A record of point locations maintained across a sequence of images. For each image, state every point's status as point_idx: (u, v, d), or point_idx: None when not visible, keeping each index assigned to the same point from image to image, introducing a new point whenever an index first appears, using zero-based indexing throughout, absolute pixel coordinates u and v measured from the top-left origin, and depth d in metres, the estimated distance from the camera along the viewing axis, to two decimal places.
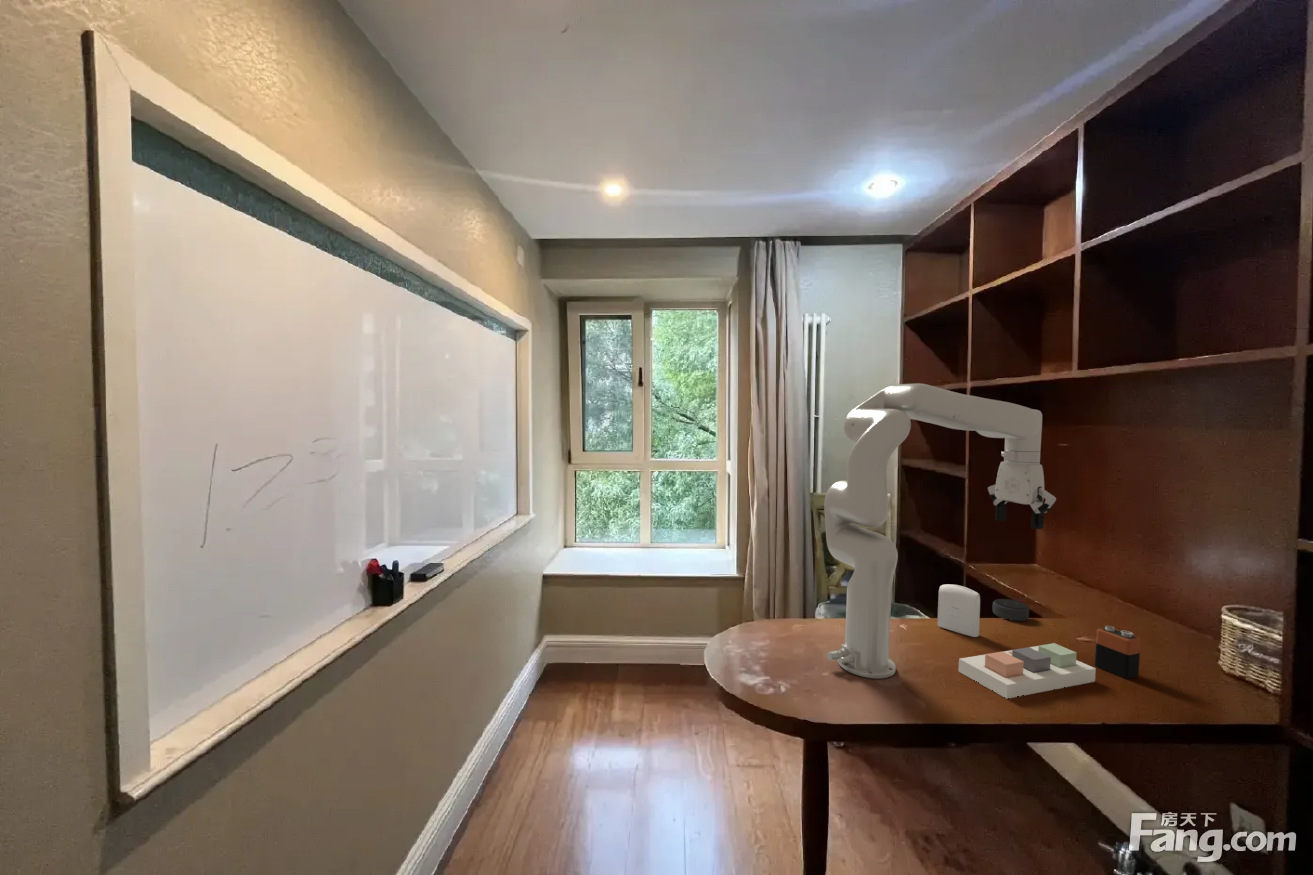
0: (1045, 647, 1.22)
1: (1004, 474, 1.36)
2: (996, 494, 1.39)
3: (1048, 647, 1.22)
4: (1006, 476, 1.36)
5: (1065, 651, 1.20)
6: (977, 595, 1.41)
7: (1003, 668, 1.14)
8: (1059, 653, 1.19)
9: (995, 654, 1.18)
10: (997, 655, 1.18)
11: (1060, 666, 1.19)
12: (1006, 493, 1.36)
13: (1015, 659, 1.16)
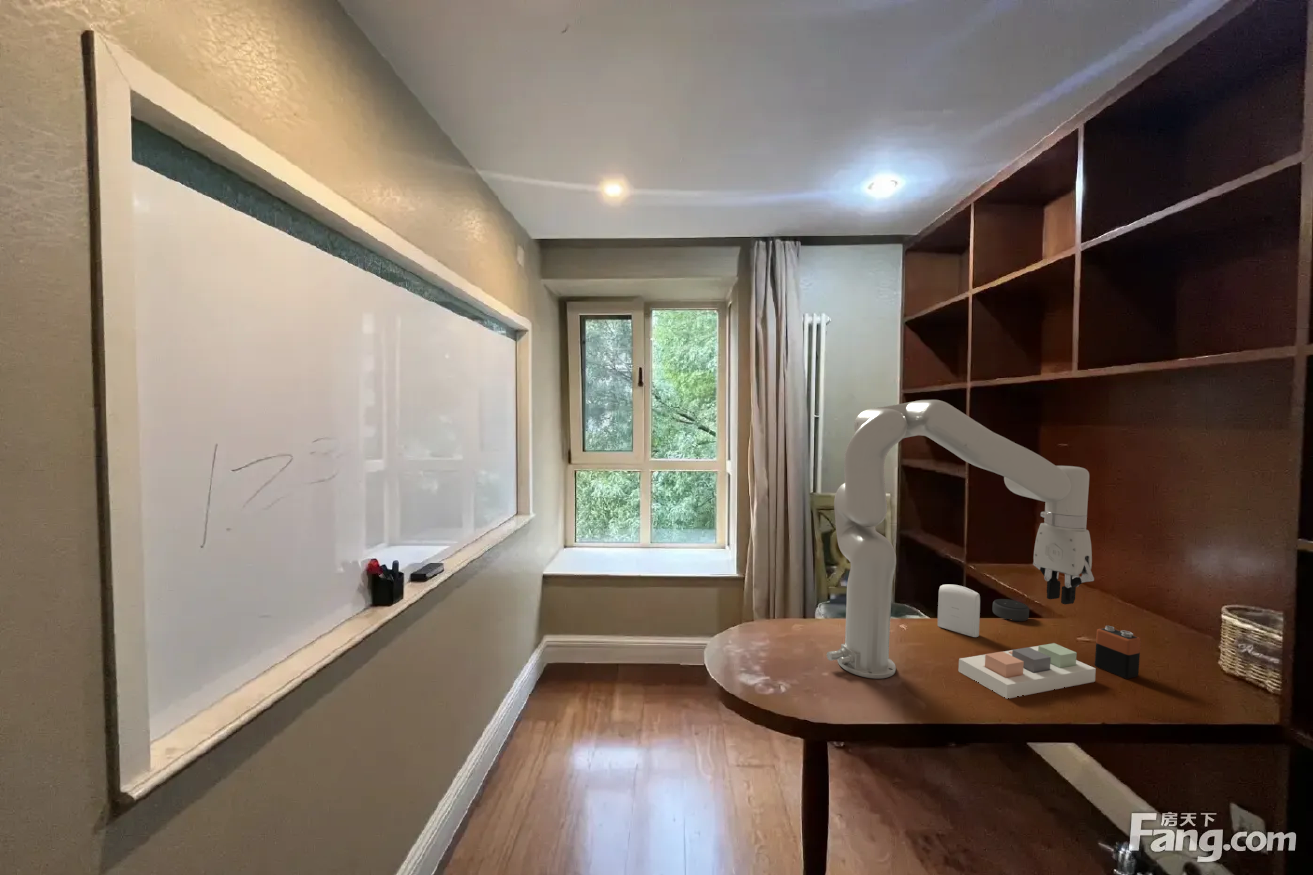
0: (1045, 647, 1.22)
1: (1045, 539, 1.21)
2: (1035, 560, 1.24)
3: (1048, 647, 1.22)
4: (1047, 541, 1.21)
5: (1065, 651, 1.20)
6: (977, 595, 1.41)
7: (1003, 668, 1.14)
8: (1059, 653, 1.19)
9: (995, 654, 1.18)
10: (997, 655, 1.18)
11: (1060, 666, 1.19)
12: (1047, 560, 1.21)
13: (1015, 659, 1.16)
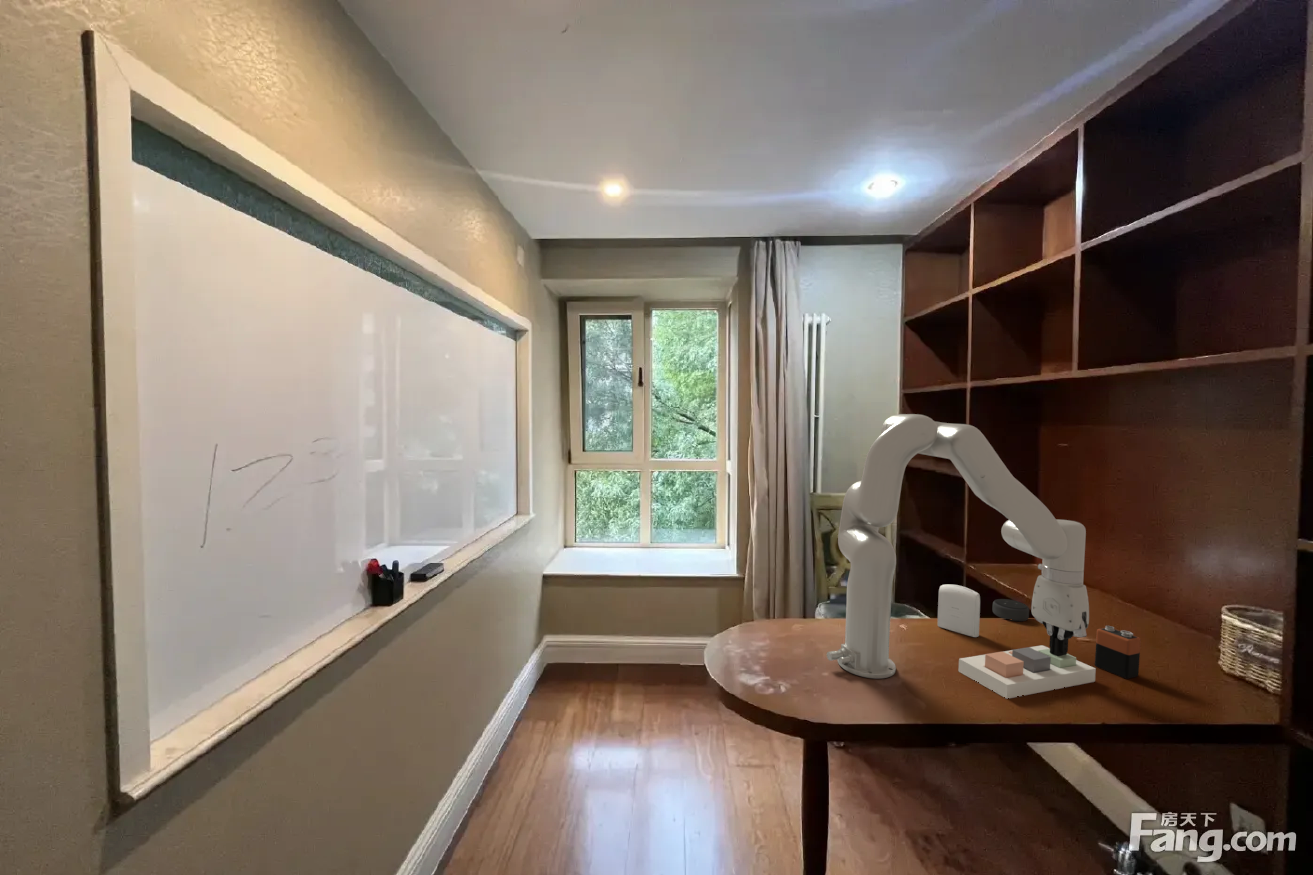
0: (1045, 652, 1.22)
1: (1042, 592, 1.22)
2: (1033, 612, 1.24)
3: (1047, 652, 1.22)
4: (1044, 595, 1.22)
5: (1065, 656, 1.20)
6: (977, 596, 1.41)
7: (1003, 668, 1.14)
8: (1058, 658, 1.19)
9: (995, 654, 1.18)
10: (997, 655, 1.18)
11: None
12: (1045, 614, 1.22)
13: (1015, 659, 1.16)
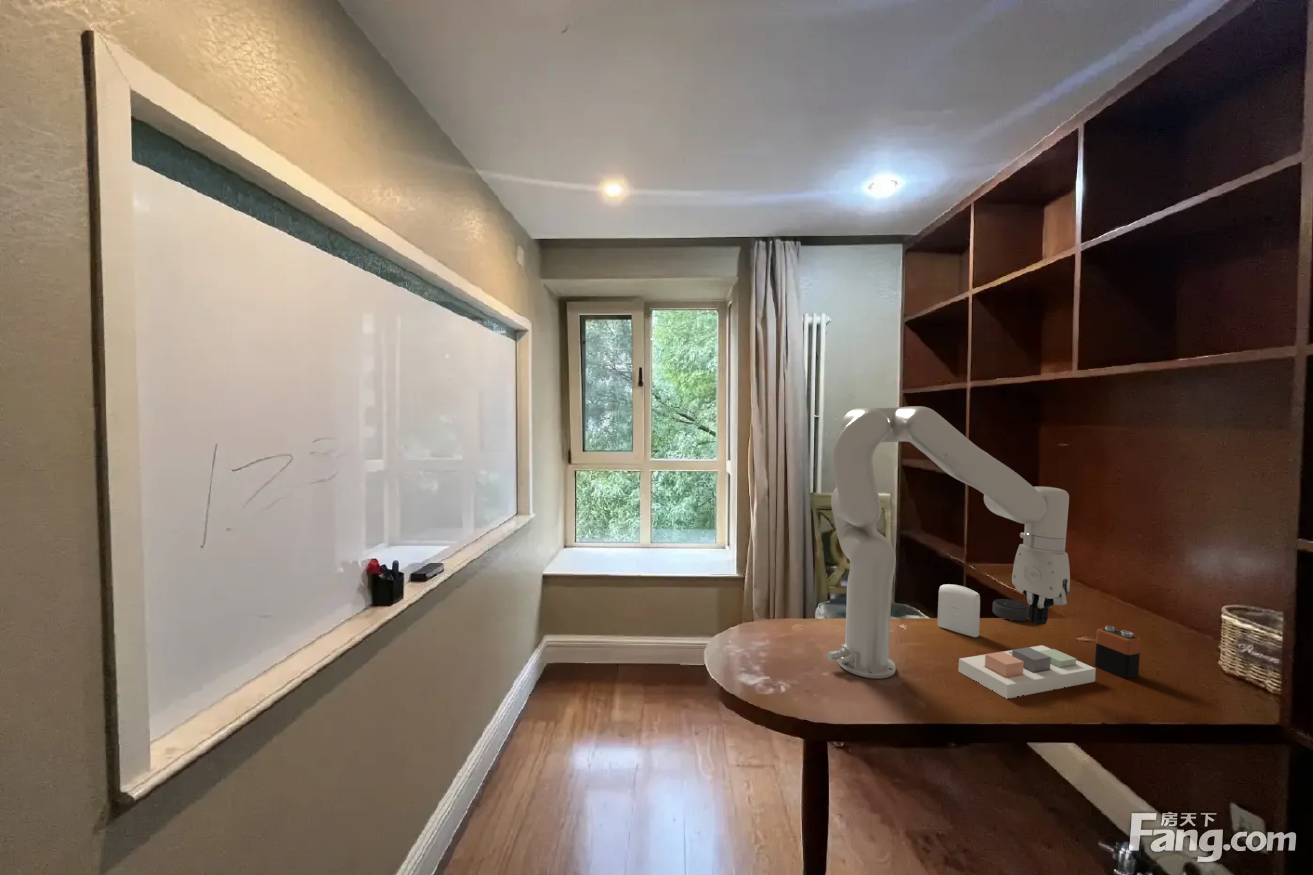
0: (1045, 653, 1.22)
1: (1024, 560, 1.20)
2: (1013, 581, 1.22)
3: (1047, 653, 1.22)
4: (1026, 563, 1.19)
5: (1065, 657, 1.20)
6: (977, 595, 1.41)
7: (1003, 668, 1.14)
8: (1058, 659, 1.19)
9: (995, 654, 1.18)
10: (997, 655, 1.18)
11: None
12: (1025, 582, 1.19)
13: (1015, 659, 1.16)
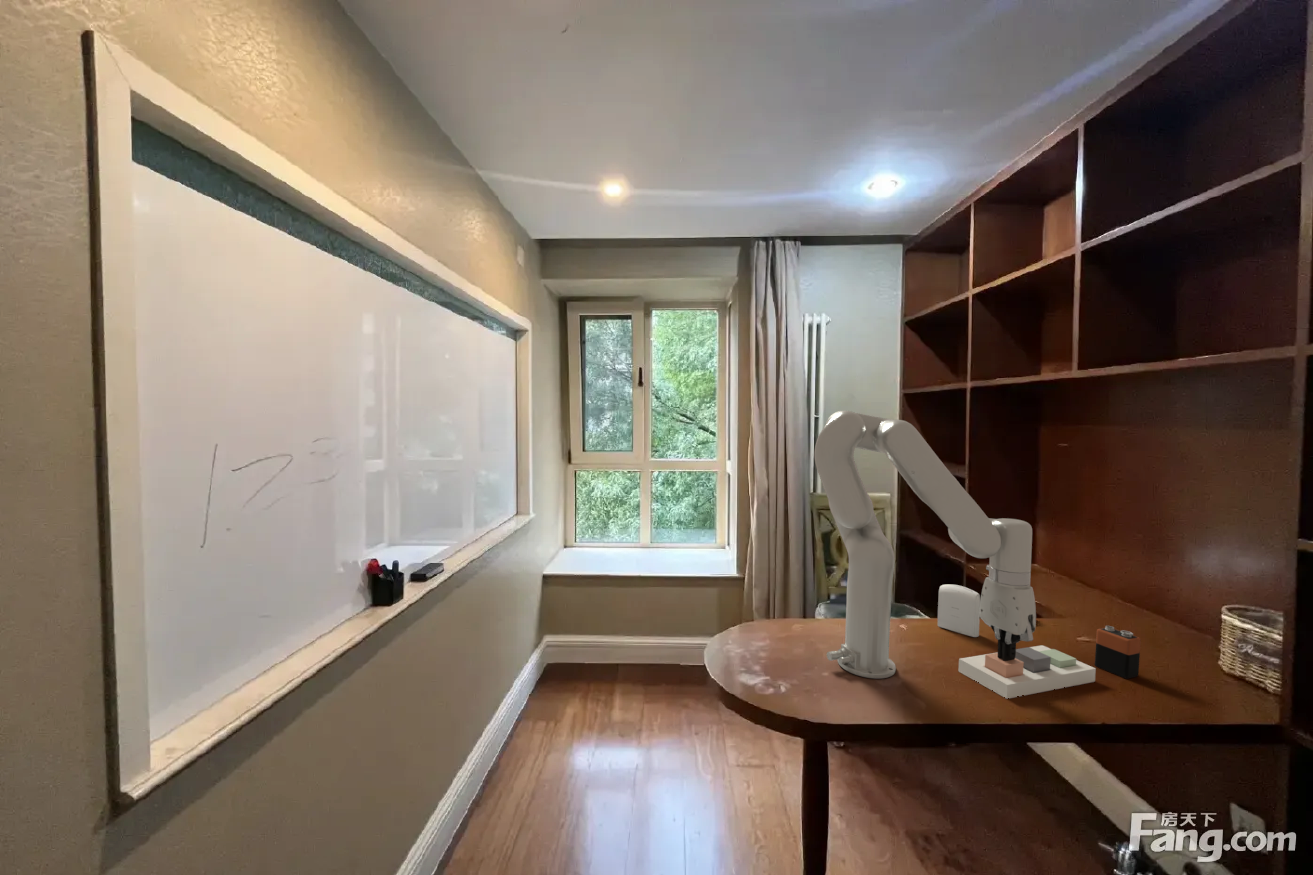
0: (1045, 653, 1.22)
1: (990, 594, 1.17)
2: (981, 615, 1.19)
3: (1047, 653, 1.22)
4: (992, 597, 1.17)
5: (1065, 657, 1.20)
6: (977, 595, 1.41)
7: (1003, 668, 1.14)
8: (1058, 659, 1.19)
9: (995, 654, 1.19)
10: (997, 655, 1.18)
11: None
12: (992, 617, 1.17)
13: (1015, 660, 1.16)
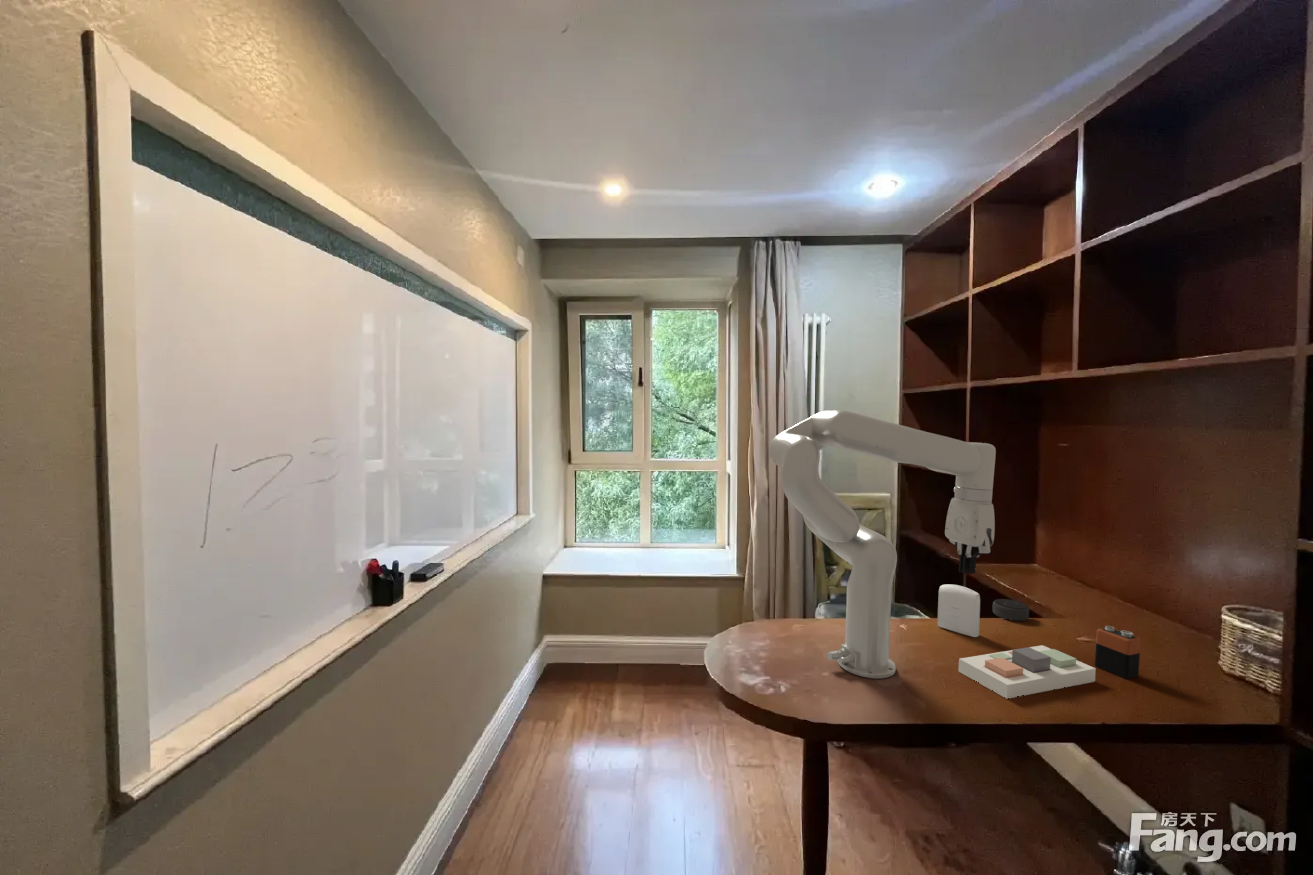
0: (1045, 653, 1.22)
1: (954, 512, 1.26)
2: (946, 533, 1.28)
3: (1047, 653, 1.22)
4: (955, 514, 1.25)
5: (1065, 657, 1.20)
6: (977, 596, 1.41)
7: (1003, 674, 1.14)
8: (1058, 659, 1.19)
9: (994, 660, 1.19)
10: (997, 661, 1.18)
11: None
12: (955, 533, 1.25)
13: (1015, 665, 1.16)
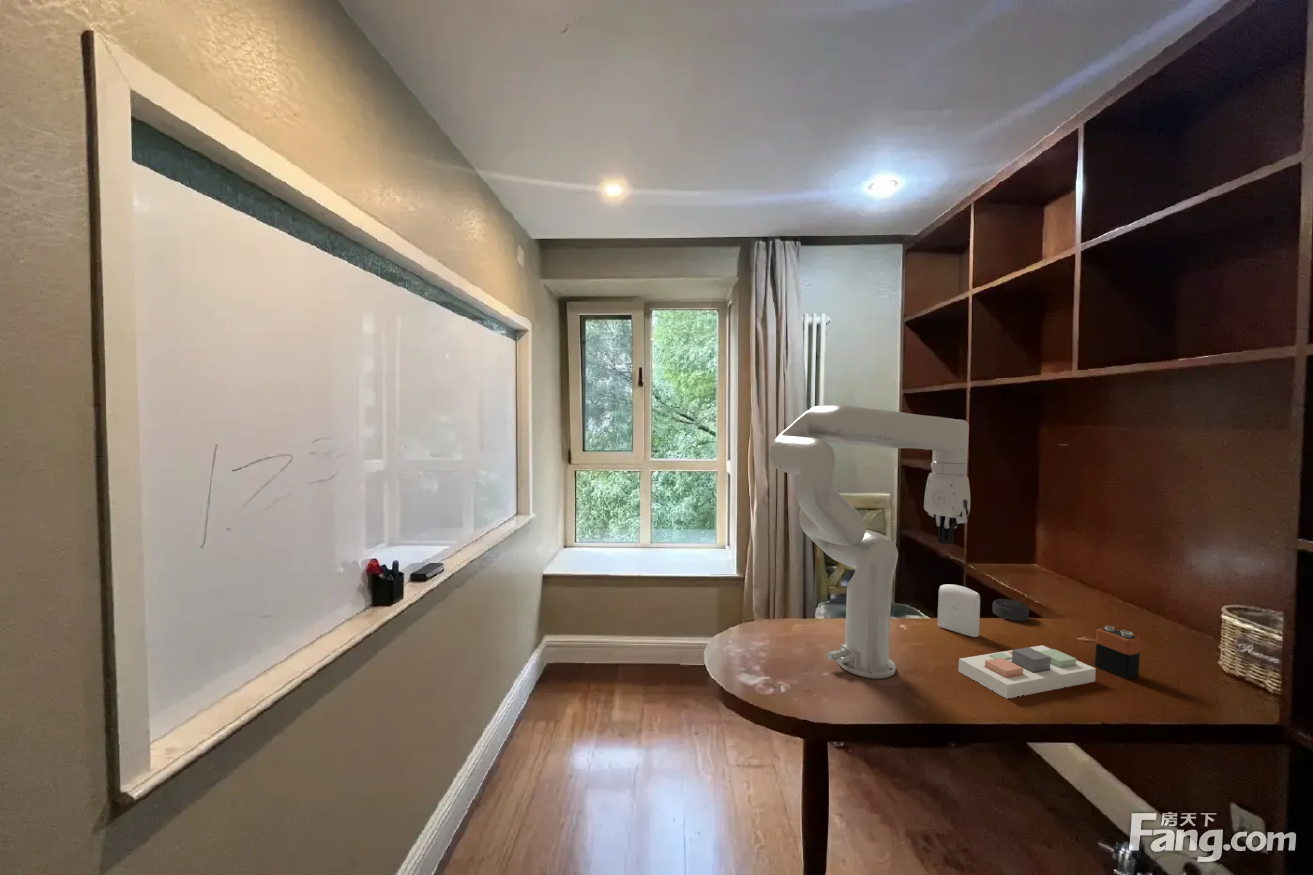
0: (1045, 653, 1.22)
1: (932, 486, 1.32)
2: (925, 506, 1.34)
3: (1047, 653, 1.22)
4: (933, 488, 1.32)
5: (1065, 657, 1.20)
6: (977, 595, 1.41)
7: (1003, 674, 1.14)
8: (1058, 659, 1.19)
9: (994, 660, 1.19)
10: (997, 661, 1.18)
11: None
12: (933, 506, 1.32)
13: (1015, 665, 1.16)
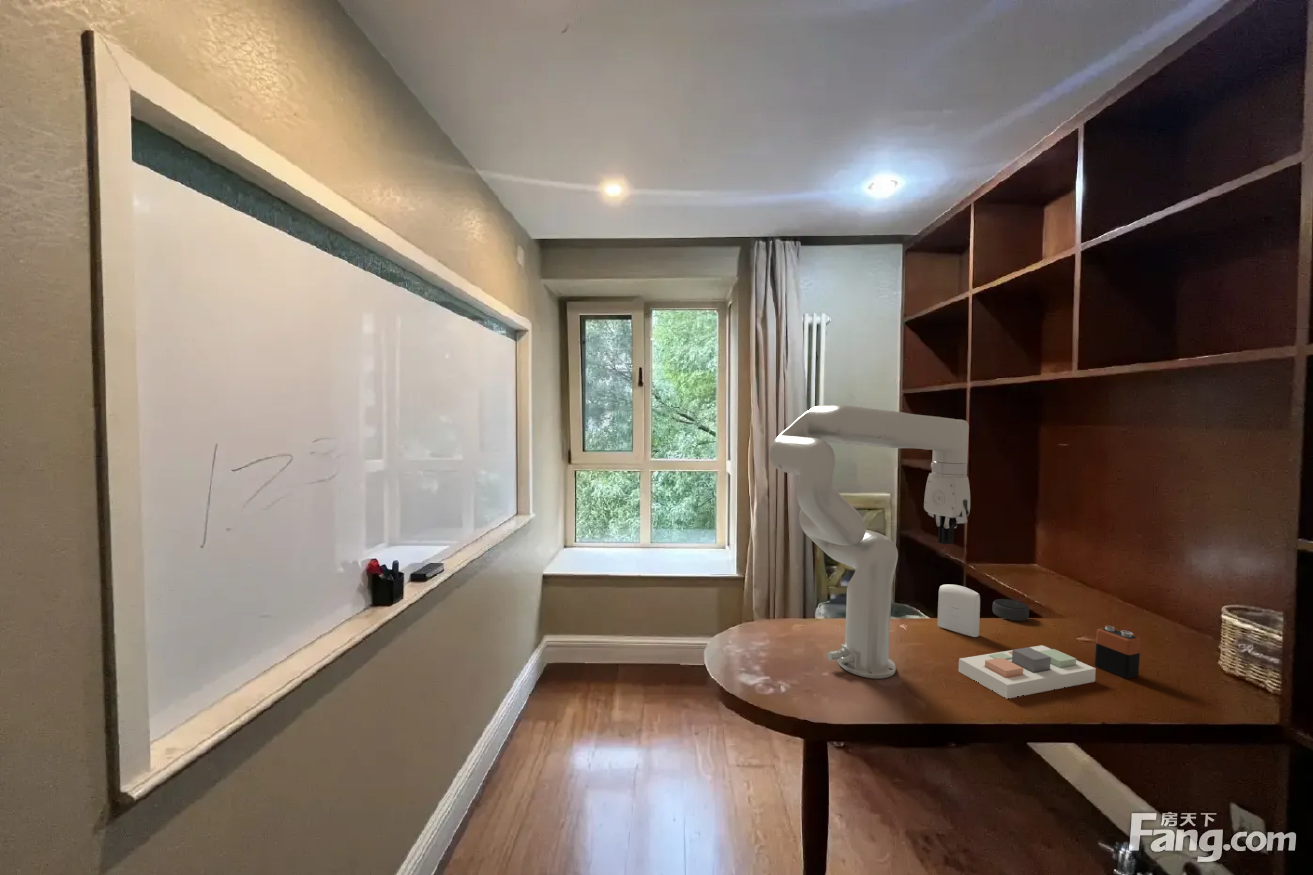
0: (1045, 653, 1.22)
1: (932, 486, 1.32)
2: (925, 506, 1.34)
3: (1047, 653, 1.22)
4: (933, 488, 1.32)
5: (1065, 657, 1.20)
6: (977, 595, 1.41)
7: (1003, 674, 1.14)
8: (1058, 659, 1.19)
9: (994, 660, 1.19)
10: (997, 661, 1.18)
11: None
12: (933, 506, 1.32)
13: (1015, 665, 1.16)
